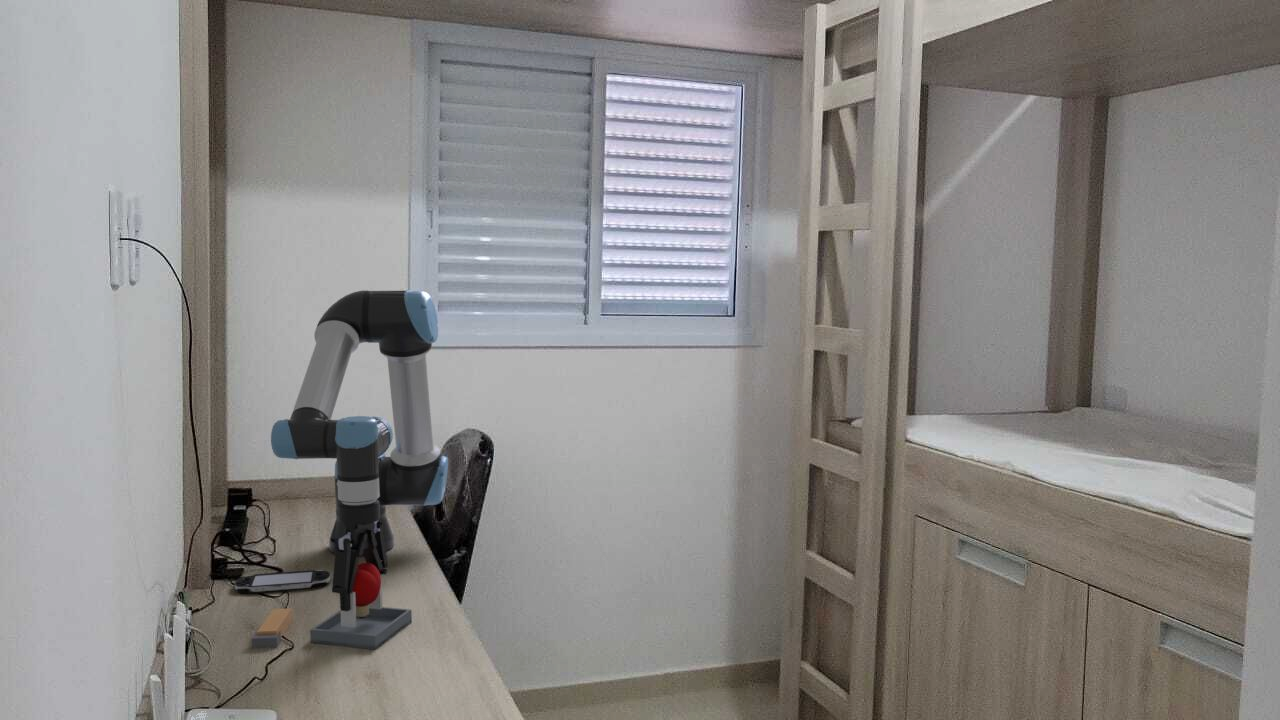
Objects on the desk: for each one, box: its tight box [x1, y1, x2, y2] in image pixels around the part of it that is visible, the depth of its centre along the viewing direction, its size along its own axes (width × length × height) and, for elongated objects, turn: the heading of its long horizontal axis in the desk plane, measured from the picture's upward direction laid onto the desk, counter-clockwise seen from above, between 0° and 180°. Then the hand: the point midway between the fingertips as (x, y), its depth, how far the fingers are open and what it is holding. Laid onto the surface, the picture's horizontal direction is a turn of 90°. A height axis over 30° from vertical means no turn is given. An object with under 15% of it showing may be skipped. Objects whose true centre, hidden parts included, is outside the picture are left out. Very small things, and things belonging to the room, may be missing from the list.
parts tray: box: [309, 606, 413, 650], centre depth 195 cm, size 14×13×2 cm
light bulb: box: [352, 562, 382, 618], centre depth 194 cm, size 9×7×10 cm
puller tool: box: [251, 607, 293, 649], centre depth 194 cm, size 14×4×2 cm, turn 6°
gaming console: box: [234, 569, 331, 595], centre depth 222 cm, size 19×9×2 cm, turn 104°
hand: (362, 616), depth 195 cm, fingers closed on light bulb, 9 cm apart
